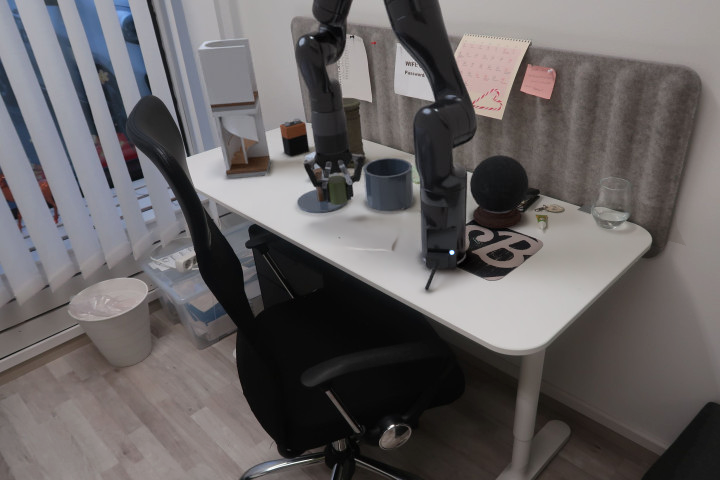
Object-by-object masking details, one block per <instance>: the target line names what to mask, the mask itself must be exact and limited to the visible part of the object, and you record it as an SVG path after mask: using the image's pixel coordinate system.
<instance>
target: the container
mask: <svg viewBox="0 0 720 480" xmlns="http://www.w3.org/2000/svg"><path fill="white" fill-rule="evenodd" d="M342 98H343V107H344V112H345V116H346V122H347V132H348V141H349V150H350V151H351V153H352V154H357V155H358V154H362V155H363V158H364V163H363V165H366V162H367V158H366V156H365V155H366V153H365V152H366V151H364V141H363V136H362V123H361V114H360V108H361V107H360V106H361V101H360V99H358V98H356V97H342ZM355 165H356V164H354V160H353V159H352V160H351V161H350V163H349V165H348V166H347V169H355Z"/></svg>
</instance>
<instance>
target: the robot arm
mask: <svg viewBox="0 0 720 480" xmlns="http://www.w3.org/2000/svg"><path fill="white" fill-rule="evenodd" d="M353 1H354V0H312V7H311V13H312V16H313V17H314V19H315V20H316V21H317V22H318V27H317V29H316V30H312V31H308V32H306V33H303V34H301V35H300V36H299V37H298V38H297V40H296V42H295V45H294V58H295V63H296V65H297V68H298V70H299V72H300V75H301V77H302V80H303V82H304V85H305V87H306V89H307V93H308V100H309V107H310V109H309V110H310V124H311V130H312V137H313V145H314V151H316V154H315V157H314V159H312V160H310V161H308V160H306V159H305V160H303V168H304V169H305V172H306V174H307V176H308V179H309V178H310V179H309V180H310V182H311V184H312V186H313V187H314V188H316V187H320V188H321V189H322V195H323V199H324V201H327V203H329V202H330V200H329V193H328V187H327V183H328V179H329V174H334V173H338V174H342V176H344V178H345V179H346V186H347V195H348V201H350V200H352V198H353V197H354V187H353V185H354V183H356V182H357V183H358V182H360V181H361V177H362V172H363V168H364V164H363V163H364V158H363V155H362V154H358V155H357V154H352V153H351V151H350V150H349V141H348V132H347V122H346V116H345V112H344V107H343V98H344V97H343V90H342V85H341V82H340V81H339V79H337V78H335V77H331V76H330V75H329V73H328V70H327V67H329V66H331V65H334V64H336V63H337V62H339V61H340V59H341V58H342V57H343V54H344V52H345V49H346V46H347V36H348V35H347V32H348V17H349V14H350V11H351V9H352V8H351V7H352V4H353ZM382 1H383V5H384V8H385V12H386V15H387V19H388V21H389V25H390V28H391V30H392V33H393V35H394V37H395V39H396V40H397V42H398V43H399V44H400V46H401V47H402V48H403V49H404V50H405V51H406V53H407V54H408V55H409V56H410V57H411V58H412V59H413V60H414V61H415V63H416V65H418V67H420V68H421V70H422V71H423V73H424V75H425V77H426V79H427V82H428V83H429V86H430V89H431V92H432V95H433V98H434V101H433V102H430V103H427V104H425V105H422V106H420V108H418V109H417V110H416V112H415V114H414V117H413V121H412V143H413V152H414V153H413V154H414V164H415V169H416V172H417V174H418V177H419V203H420V205H419V206H420V242H421V253H420V256H421V257H420V258H421V261H422V262H423V263H424V264H425V267H426V268H427V269H431V271H430V274H429V277H428V279H427V281H426V284H425V287H424V290H426V291H429V289H430V287H431V284H432V282H433V280H434V277H435V274H436V271H437V269H440V270H441V269H443V270H457V269H458V267H459V266H461V265H462V264H464V262H465V261H466V257H467V251H466V247H467V245H466V243H467V242H466V241H467V240H466V236H467V234H466V233H467V203H468V202H467V199H468V171H467V169H466V166H464V165H463V164H461V163H459V162H456V161H454V157H453V156H454V155H453V150H454V149H456V148H459V147H461V146H464V145H465V144H467V143H469V142H471V141H472V140H473V138H475V136H476V133H477V128H478V121H477V120H478V119H477V113H476V110H475V108H474V104H473V101H472V99H471V96H470V94H469V90H468V89H467V85H466V83H465V81H464V79H463V75H462V73H461V71H460V68H459V65H458V63H457V60H456V56H455V53H454V50H453V46H452V44H451V40H450V37H449V33H448V31H447V27H446V25H445V20H444V17H443V12H442V8H441V5H440V1H439V0H382ZM352 159H353V160H354V164H356V165H355V168H354V171H353V174H352V175H351V174H350V172H349V169H348V168H347V166H348V165H349V163H350V161H351V160H352ZM315 164H317V165H318V166H319V167H320V168H321V169H322V177H321V180H318V179H317V177H316V175H315V173H314V171H313V170H314V169H315V167H314V165H315Z"/></svg>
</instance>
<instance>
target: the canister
mask: <svg viewBox="0 0 720 480" xmlns="http://www.w3.org/2000/svg"><path fill="white" fill-rule="evenodd" d="M362 172H363V184H364V194H365V203H366V205H367V206H368V207H369V208H371V209H372V210H377V211H379V212H394V211H400V210H403V211H405V210H407V209H409V208H410V207H411V206H413V203H414V186H413V185H414V183H413V182H414V180H413V179H414V176H413V165H412V163H411V162H410V161H408V160H406V159H404V158H398V157H384V158H378V159H374V160H371V161H369V162H367V163H365V164H364V165H363V168H362Z"/></svg>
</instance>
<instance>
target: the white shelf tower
mask: <svg viewBox="0 0 720 480" xmlns="http://www.w3.org/2000/svg"><path fill="white" fill-rule="evenodd" d="M197 53H198V57H199V62H200V64H201V65H200V66H201V70H202V75H203V79H204V83H205V87H206V93H207V95H208V100H209V105H210V110H211V115H212V117H213V118H214V122H215V127H216V132H217V136H218V140H219V144H220V149H221V153H222V158H223V163H224V166H225V170H226V171H225V174H226V179H227V180H228V179H229V180H230V179H241V178H251V177H263V176H266V174H268V173H269V171H270V167H271V166H270V165H271V156H270V151H269V146H268V145H269V144H268V140H267V134H266V129H265V128H266V127H265V124H264V123H265V122H264V118H263V112H262V108H261V107H262V106H261V101H260V96H259V90H258V85H257V80H256V73H255V68H254V62H253V57H252V51H251V46H250V40H249V37H245V38H244V37H243V38H230V39H218V40H204V41H203V42H202V43H201V45H200V46H199V47H198V48H197Z"/></svg>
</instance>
